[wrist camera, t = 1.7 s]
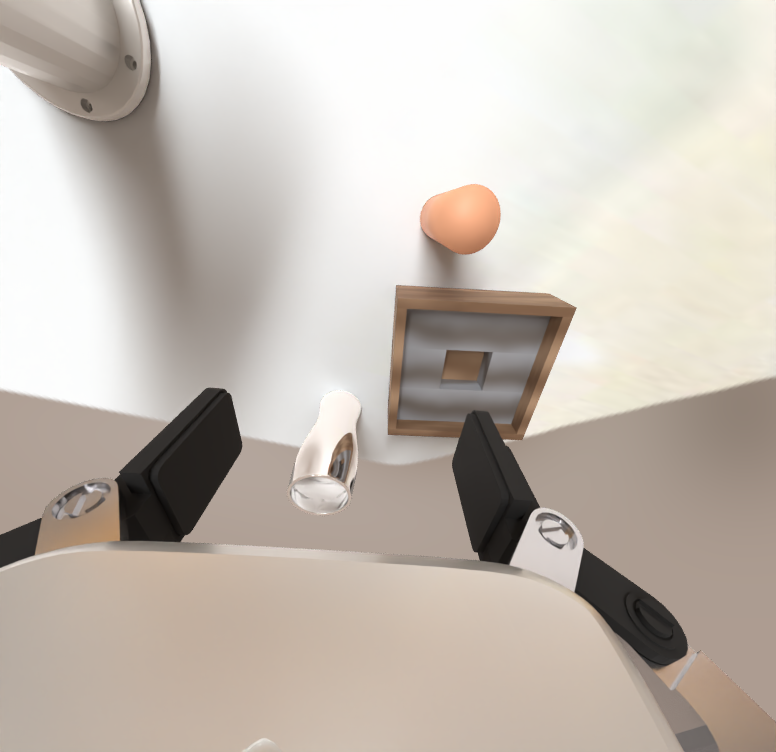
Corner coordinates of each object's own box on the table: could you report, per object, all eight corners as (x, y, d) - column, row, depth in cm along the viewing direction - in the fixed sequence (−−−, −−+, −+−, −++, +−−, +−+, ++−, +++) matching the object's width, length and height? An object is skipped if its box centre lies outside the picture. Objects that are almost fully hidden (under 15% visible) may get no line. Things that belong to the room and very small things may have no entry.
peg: (422, 193, 27) (443, 182, 17) (462, 195, 27) (507, 186, 17) (418, 238, 29) (434, 252, 19) (455, 240, 29) (491, 255, 19)
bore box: (396, 285, 32) (397, 298, 27) (549, 293, 32) (576, 307, 28) (387, 408, 41) (387, 434, 36) (506, 414, 42) (522, 439, 37)
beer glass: (354, 382, 39) (338, 467, 26) (370, 419, 42) (363, 510, 29) (309, 394, 40) (271, 481, 27) (328, 429, 43) (303, 521, 30)
